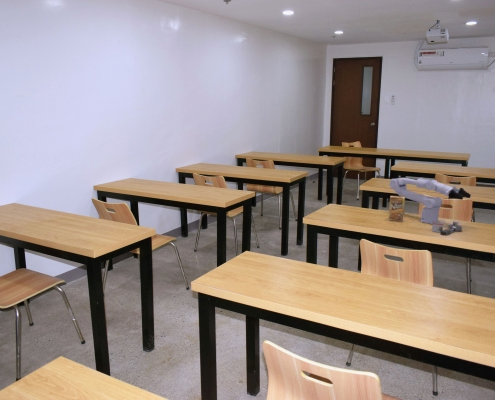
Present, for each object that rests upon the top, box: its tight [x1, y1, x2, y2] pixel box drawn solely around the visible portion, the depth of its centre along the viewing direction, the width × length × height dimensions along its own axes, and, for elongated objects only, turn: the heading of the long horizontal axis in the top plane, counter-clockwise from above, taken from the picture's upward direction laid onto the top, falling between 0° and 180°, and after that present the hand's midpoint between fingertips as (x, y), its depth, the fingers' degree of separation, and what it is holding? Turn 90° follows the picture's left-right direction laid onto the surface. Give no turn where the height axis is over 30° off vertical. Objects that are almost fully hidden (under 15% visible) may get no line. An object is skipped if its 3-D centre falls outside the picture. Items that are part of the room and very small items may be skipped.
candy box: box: [387, 195, 406, 223], centre depth 273 cm, size 9×4×15 cm, turn 70°
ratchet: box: [439, 220, 463, 237], centre depth 250 cm, size 7×19×5 cm, turn 132°
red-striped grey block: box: [431, 220, 444, 233], centre depth 251 cm, size 5×5×6 cm
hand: (466, 197), depth 250 cm, fingers open, 7 cm apart
